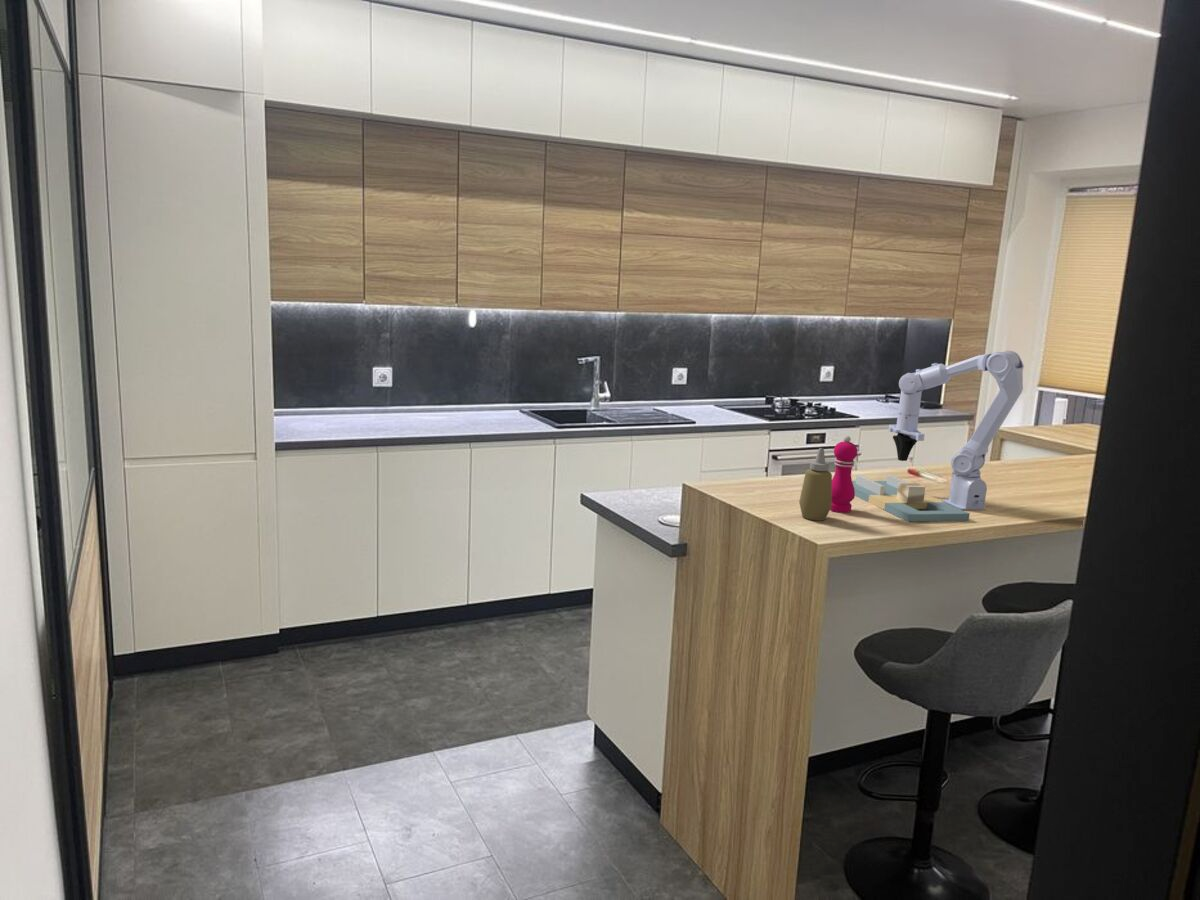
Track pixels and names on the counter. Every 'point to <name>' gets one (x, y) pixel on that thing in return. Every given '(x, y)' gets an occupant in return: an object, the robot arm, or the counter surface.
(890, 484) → the board
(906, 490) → the block
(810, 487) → the squeeze bottle
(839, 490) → the pepper mill
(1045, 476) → the counter surface
